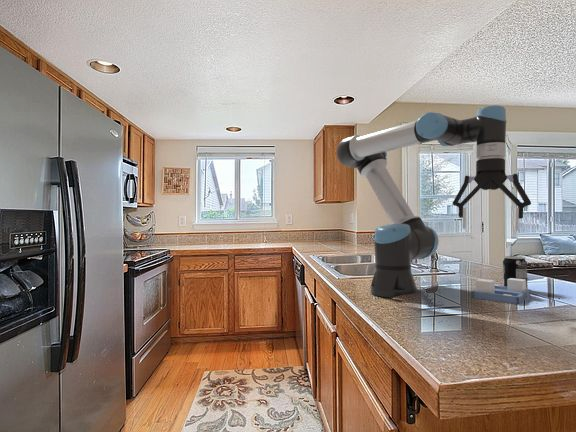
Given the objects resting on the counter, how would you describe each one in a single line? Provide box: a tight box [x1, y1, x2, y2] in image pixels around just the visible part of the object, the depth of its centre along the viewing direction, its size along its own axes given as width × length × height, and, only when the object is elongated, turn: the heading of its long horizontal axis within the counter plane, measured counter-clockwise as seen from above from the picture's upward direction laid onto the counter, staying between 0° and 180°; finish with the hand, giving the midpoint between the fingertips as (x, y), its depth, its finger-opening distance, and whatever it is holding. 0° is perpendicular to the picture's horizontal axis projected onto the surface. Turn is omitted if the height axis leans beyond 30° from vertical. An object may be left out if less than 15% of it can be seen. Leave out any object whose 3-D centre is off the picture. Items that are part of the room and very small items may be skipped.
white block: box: [475, 278, 496, 293], centre depth 102 cm, size 4×4×5 cm
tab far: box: [507, 278, 526, 292], centre depth 102 cm, size 4×4×5 cm
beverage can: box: [502, 255, 529, 289], centre depth 111 cm, size 7×7×12 cm
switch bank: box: [471, 284, 531, 305], centre depth 102 cm, size 12×14×3 cm
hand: (489, 229), depth 102 cm, fingers open, 13 cm apart
